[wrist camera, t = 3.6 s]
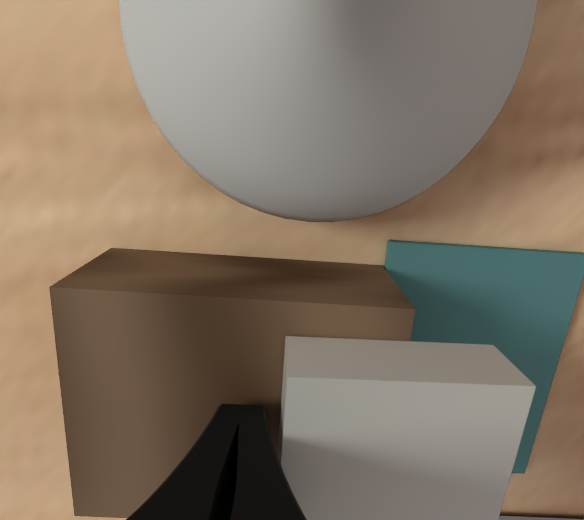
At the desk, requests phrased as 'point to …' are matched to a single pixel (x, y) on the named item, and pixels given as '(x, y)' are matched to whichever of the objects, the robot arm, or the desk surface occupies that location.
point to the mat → (493, 306)
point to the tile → (399, 428)
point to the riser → (190, 353)
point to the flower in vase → (324, 93)
